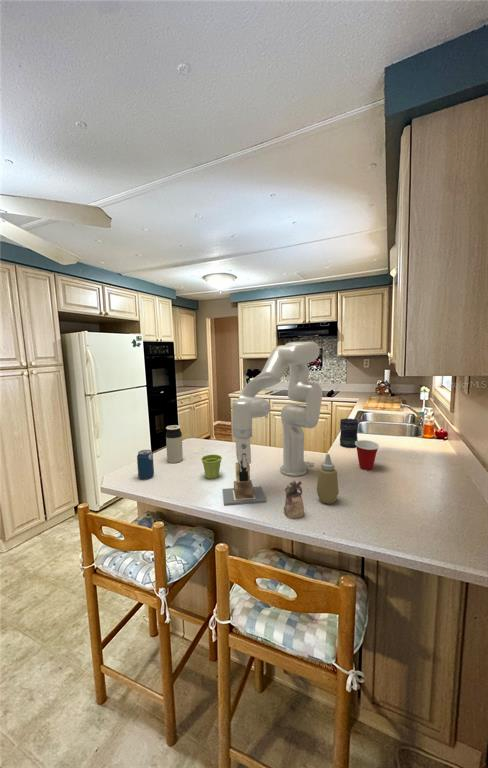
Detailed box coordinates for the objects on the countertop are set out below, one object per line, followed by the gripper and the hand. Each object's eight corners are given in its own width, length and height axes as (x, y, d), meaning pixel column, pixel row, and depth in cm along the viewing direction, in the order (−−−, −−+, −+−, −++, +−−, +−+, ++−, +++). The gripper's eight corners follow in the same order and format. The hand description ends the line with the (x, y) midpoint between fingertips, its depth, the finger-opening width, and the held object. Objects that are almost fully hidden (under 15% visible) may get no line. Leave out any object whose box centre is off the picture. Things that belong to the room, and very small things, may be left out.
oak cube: (248, 476, 123) (248, 461, 122) (249, 481, 118) (249, 466, 117) (235, 477, 122) (235, 462, 122) (236, 482, 118) (236, 467, 117)
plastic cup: (359, 472, 141) (360, 447, 140) (350, 464, 152) (351, 440, 151) (383, 472, 142) (383, 446, 140) (372, 463, 152) (373, 439, 151)
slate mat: (261, 488, 128) (261, 485, 128) (266, 502, 116) (266, 500, 116) (222, 490, 126) (222, 488, 126) (224, 505, 114) (224, 503, 114)
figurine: (286, 506, 113) (286, 475, 111) (305, 510, 110) (305, 478, 109) (281, 516, 106) (281, 483, 105) (301, 520, 104) (302, 486, 102)
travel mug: (175, 464, 156) (173, 429, 154) (163, 461, 160) (162, 427, 158) (186, 459, 163) (184, 426, 160) (174, 456, 167) (173, 424, 165)
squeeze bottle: (322, 493, 123) (322, 449, 120) (341, 499, 117) (342, 453, 115) (312, 501, 116) (313, 455, 114) (333, 508, 111) (333, 460, 109)
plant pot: (219, 481, 135) (218, 462, 134) (198, 480, 137) (198, 461, 136) (224, 472, 144) (224, 455, 143) (205, 471, 146) (205, 453, 145)
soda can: (157, 475, 142) (156, 450, 141) (145, 481, 136) (143, 455, 135) (147, 472, 146) (145, 448, 145) (135, 478, 140) (133, 452, 139)
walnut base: (251, 489, 125) (251, 479, 125) (253, 497, 118) (253, 487, 118) (233, 490, 124) (233, 481, 124) (235, 499, 117) (235, 489, 117)
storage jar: (345, 441, 187) (346, 417, 185) (360, 445, 180) (361, 420, 178) (336, 445, 181) (336, 420, 179) (351, 449, 173) (352, 423, 172)
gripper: (255, 438, 110) (255, 487, 112) (249, 426, 127) (249, 469, 129) (234, 439, 109) (235, 488, 111) (230, 427, 126) (231, 470, 128)
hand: (242, 477), depth 120 cm, fingers closed on oak cube, 5 cm apart
